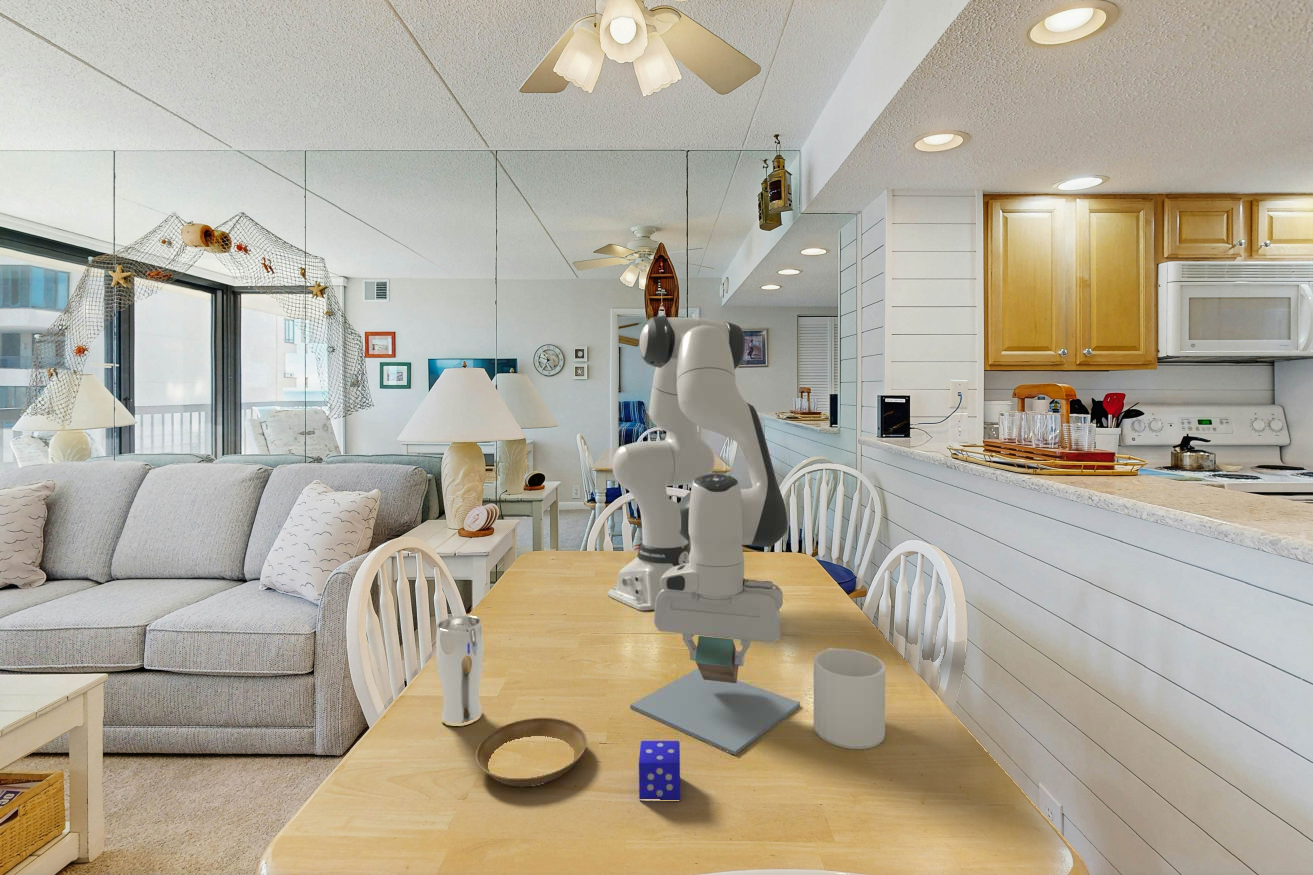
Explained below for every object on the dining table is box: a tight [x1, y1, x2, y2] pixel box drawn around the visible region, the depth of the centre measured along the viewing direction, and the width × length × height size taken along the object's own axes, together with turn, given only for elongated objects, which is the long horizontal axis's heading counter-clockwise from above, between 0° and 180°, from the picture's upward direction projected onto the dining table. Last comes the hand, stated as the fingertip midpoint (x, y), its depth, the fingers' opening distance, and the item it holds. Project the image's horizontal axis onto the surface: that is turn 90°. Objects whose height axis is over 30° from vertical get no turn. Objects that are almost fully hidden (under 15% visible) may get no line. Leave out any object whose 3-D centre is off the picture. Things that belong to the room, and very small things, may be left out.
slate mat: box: [629, 667, 801, 756], centre depth 98 cm, size 20×18×1 cm
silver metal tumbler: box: [435, 615, 484, 723], centre depth 95 cm, size 7×7×15 cm
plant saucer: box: [475, 717, 588, 787], centre depth 83 cm, size 15×15×3 cm
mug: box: [813, 647, 887, 750], centre depth 91 cm, size 13×10×10 cm
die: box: [638, 740, 681, 801], centre depth 77 cm, size 5×5×5 cm
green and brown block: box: [694, 635, 739, 683], centre depth 100 cm, size 4×6×8 cm
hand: (717, 661), depth 99 cm, fingers open, 6 cm apart
